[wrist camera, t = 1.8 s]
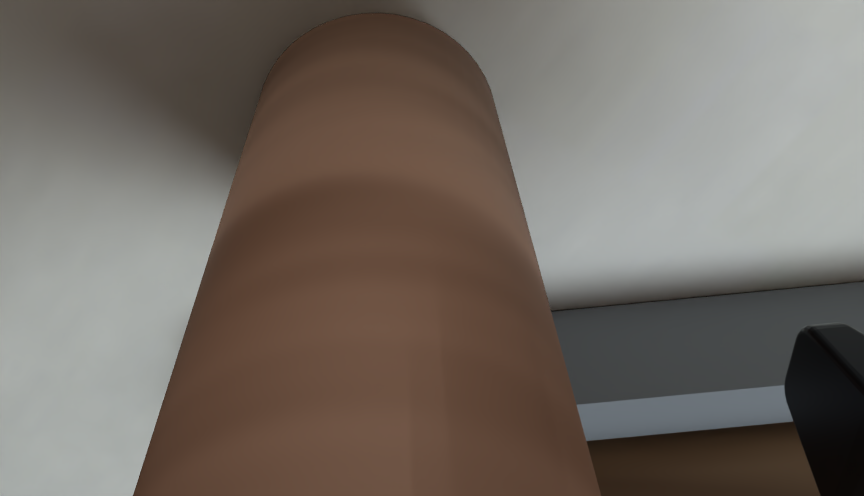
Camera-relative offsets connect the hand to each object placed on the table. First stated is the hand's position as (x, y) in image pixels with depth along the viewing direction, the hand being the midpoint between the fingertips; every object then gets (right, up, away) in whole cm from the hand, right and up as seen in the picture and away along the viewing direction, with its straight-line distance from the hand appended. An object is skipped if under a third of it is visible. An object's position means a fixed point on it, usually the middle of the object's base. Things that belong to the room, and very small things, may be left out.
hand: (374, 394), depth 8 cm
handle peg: (0, +4, +5) cm, 6 cm away
